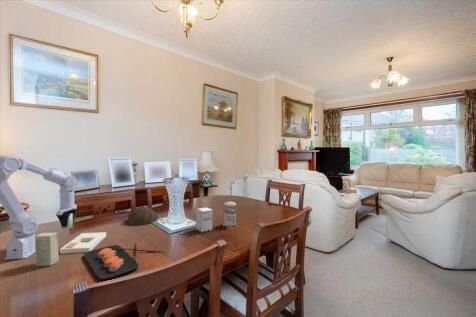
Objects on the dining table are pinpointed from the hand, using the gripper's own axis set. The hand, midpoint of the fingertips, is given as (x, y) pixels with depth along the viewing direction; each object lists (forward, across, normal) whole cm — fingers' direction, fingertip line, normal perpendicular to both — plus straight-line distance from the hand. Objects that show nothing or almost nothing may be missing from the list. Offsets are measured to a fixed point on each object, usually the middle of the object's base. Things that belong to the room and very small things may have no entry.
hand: (67, 225), depth 116 cm
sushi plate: (+9, -23, -36) cm, 44 cm away
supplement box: (+8, +8, -70) cm, 71 cm away
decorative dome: (+8, +29, -30) cm, 43 cm away
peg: (+1, 0, 0) cm, 1 cm away
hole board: (+8, -6, -11) cm, 15 cm away
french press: (+8, +15, -86) cm, 88 cm away
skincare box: (+8, -25, -5) cm, 27 cm away
